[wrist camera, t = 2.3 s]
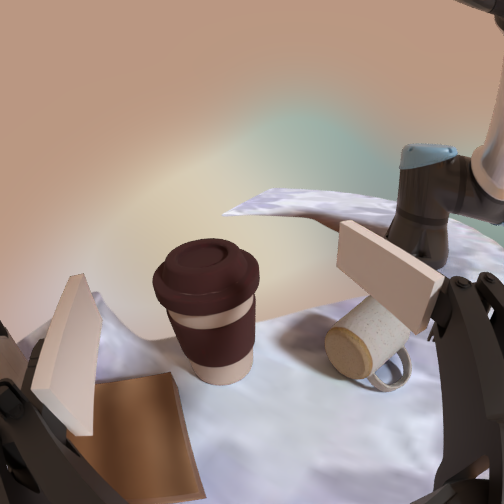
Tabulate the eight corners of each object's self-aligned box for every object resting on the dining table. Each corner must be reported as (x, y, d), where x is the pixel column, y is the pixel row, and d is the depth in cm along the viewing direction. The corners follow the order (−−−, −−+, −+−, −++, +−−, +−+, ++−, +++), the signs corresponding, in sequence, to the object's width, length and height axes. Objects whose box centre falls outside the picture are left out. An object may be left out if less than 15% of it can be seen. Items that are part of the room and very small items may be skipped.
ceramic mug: (316, 359, 31) (323, 312, 27) (357, 328, 35) (368, 282, 31) (382, 411, 23) (407, 368, 19) (418, 368, 27) (441, 322, 23)
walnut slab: (177, 387, 28) (170, 371, 26) (206, 498, 16) (198, 492, 15) (74, 402, 24) (62, 387, 23) (73, 503, 12) (56, 494, 11)
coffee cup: (194, 333, 36) (170, 232, 29) (266, 336, 35) (261, 230, 28) (173, 391, 27) (128, 282, 20) (260, 399, 26) (251, 286, 19)
